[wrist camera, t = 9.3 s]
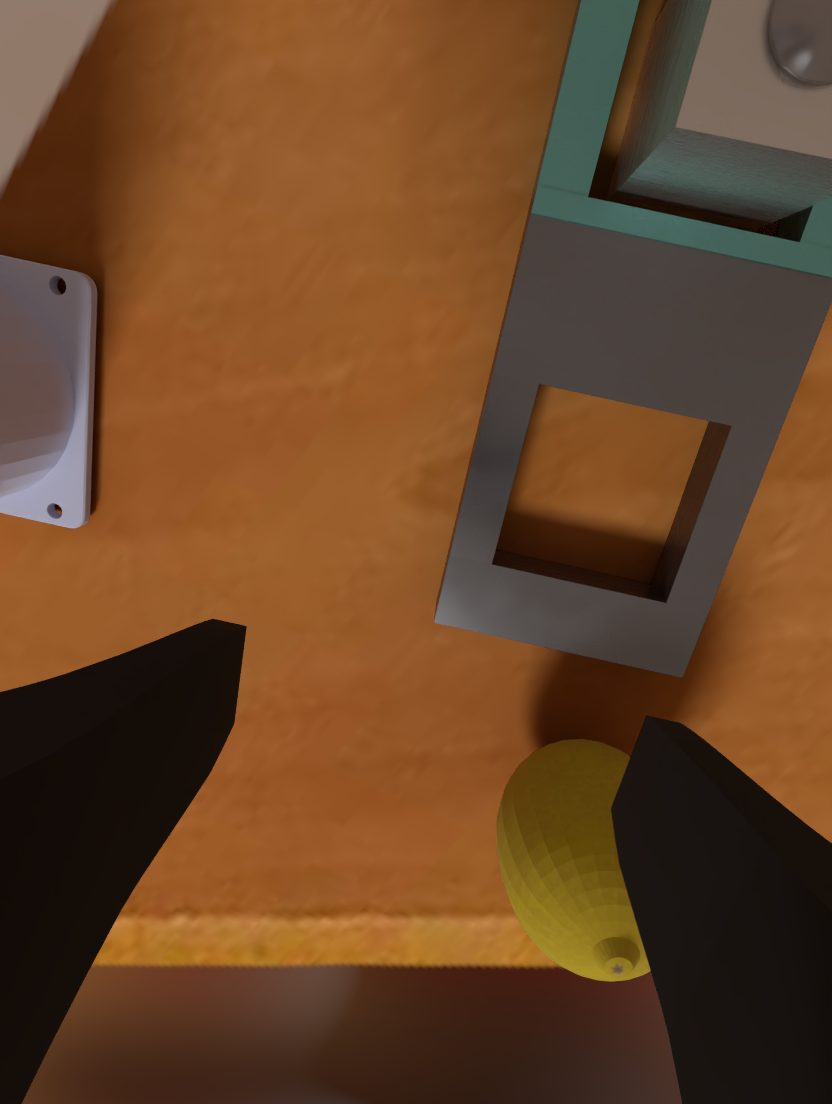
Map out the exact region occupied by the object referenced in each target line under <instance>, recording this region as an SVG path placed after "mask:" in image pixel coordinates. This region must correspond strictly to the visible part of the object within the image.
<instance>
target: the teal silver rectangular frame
mask: <svg viewBox="0 0 832 1104" xmlns="http://www.w3.org/2000/svg"><path fill="white" fill-rule="evenodd" d="M638 4H639V0H578V3H577V8H576V12H575V16H574V20H573V25H572V29H571V33H570V37H569V42H568V46H567V50H566V54H565V59H564V63H563V67H562V71H561V76H560V80H559V84H558V88H557V93H556V97H555V101H554V105H553V110H552V114H551V118H550V122H549V127H548V131H547V135H546V139H545V144H544V148H543V152H542V156H541V161H540V165H539V169H538V173H537V178H536V182H535V186H534V190H533V194H532V199H531V203H530V207H529V211H528V216H527V220H526V224H525V228H524V233H523V237H522V241H521V245H520V250H519V254H518V258H517V262H516V267H515V271H514V275H513V279H512V284H511V288H510V292H509V296H508V301H507V305H506V309H505V313H504V318H503V322H502V326H501V330H500V335H499V339H498V343H497V347H496V352H495V356H494V360H493V364H492V369H491V373H490V377H489V381H488V386H487V390H486V394H485V398H484V403H483V407H482V411H481V415H480V420H479V424H478V428H477V432H476V436H475V441H474V445H473V449H472V453H471V458H470V462H469V466H468V470H467V475H466V479H465V483H464V487H463V492H462V496H461V500H460V504H459V509H458V513H457V517H456V521H455V526H454V530H453V534H452V538H451V543H450V547H449V551H448V555H447V560H446V564H445V568H444V572H443V577H442V581H441V585H440V589H439V594H438V598H437V602H436V609H435V618H434V623H438V624H443V625H447V626H452V627H456V628H461V629H465V630H470V631H474V632H479V633H483V634H488V635H492V636H497V637H501V638H506V639H510V640H515V641H519V642H524V643H528V644H533V645H537V646H542V647H546V648H550V649H555V650H559V651H564V652H568V653H573V654H577V655H582V656H586V657H591V658H595V659H600V660H604V661H609V662H613V663H618V664H622V665H627V666H631V667H636V668H640V669H645V670H649V671H654V672H658V673H663V674H667V675H672V676H676V677H681V678H683V676H684V673H685V671H686V668H687V666H688V663H689V661H690V658H691V656H692V653H693V651H694V648H695V646H696V643H697V641H698V638H699V635H700V633H701V630H702V628H703V625H704V623H705V620H706V618H707V615H708V613H709V610H710V608H711V605H712V603H713V600H714V598H715V595H716V593H717V590H718V588H719V585H720V582H721V580H722V577H723V575H724V572H725V570H726V567H727V565H728V562H729V560H730V557H731V555H732V552H733V550H734V547H735V545H736V542H737V540H738V537H739V535H740V532H741V529H742V527H743V524H744V522H745V519H746V517H747V514H748V512H749V509H750V507H751V504H752V502H753V499H754V497H755V494H756V492H757V489H758V487H759V484H760V481H761V479H762V476H763V474H764V471H765V469H766V466H767V464H768V461H769V459H770V456H771V454H772V451H773V449H774V446H775V444H776V441H777V439H778V436H779V434H780V431H781V428H782V426H783V423H784V421H785V418H786V416H787V413H788V411H789V408H790V406H791V403H792V401H793V398H794V396H795V393H796V391H797V388H798V386H799V383H800V381H801V378H802V375H803V373H804V370H805V368H806V365H807V363H808V360H809V358H810V355H811V353H812V350H813V348H814V345H815V343H816V340H817V338H818V335H819V333H820V330H821V327H822V325H823V322H824V320H825V317H826V315H827V312H828V310H829V307H830V305H831V302H832V198H829V199H827V200H825V201H822V202H820V203H817V204H815V205H813V206H810V207H808V208H806V209H803V210H801V211H799V212H796V213H794V214H792V215H789V216H787V217H784V218H782V219H781V222H780V225H779V228H778V230H777V233H776V236H775V237H772V236H768V235H763V234H758V233H754V232H749V231H744V230H740V229H735V228H730V227H726V226H721V225H716V224H712V223H707V222H702V221H698V220H693V219H688V218H684V217H679V216H674V215H670V214H665V213H660V212H656V211H651V210H646V209H642V208H637V207H632V206H628V205H623V204H618V203H614V202H609V201H604V200H599V199H595V198H590V197H588V195H589V191H590V187H591V184H592V180H593V176H594V172H595V168H596V164H597V161H598V157H599V153H600V149H601V145H602V142H603V138H604V134H605V130H606V126H607V122H608V119H609V115H610V111H611V107H612V103H613V100H614V96H615V92H616V88H617V84H618V80H619V77H620V73H621V69H622V65H623V61H624V58H625V54H626V50H627V46H628V42H629V38H630V35H631V31H632V27H633V23H634V19H635V16H636V12H637V8H638ZM539 384H542V385H546V386H551V387H555V388H560V389H565V390H569V391H574V392H578V393H583V394H588V395H592V396H597V397H601V398H606V399H611V400H615V401H620V402H624V403H629V404H634V405H638V406H643V407H647V408H652V409H657V410H661V411H666V412H670V413H675V414H680V415H684V416H689V417H693V418H698V419H703V420H707V421H709V424H708V427H707V429H706V432H705V435H704V438H703V441H702V443H701V446H700V449H699V452H698V455H697V457H696V460H695V463H694V466H693V469H692V471H691V474H690V477H689V480H688V483H687V485H686V488H685V491H684V494H683V497H682V499H681V502H680V505H679V508H678V511H677V513H676V516H675V519H674V522H673V525H672V528H671V530H670V533H669V536H668V539H667V542H666V544H665V547H664V550H663V553H662V556H661V558H660V561H659V564H658V567H657V570H656V572H655V575H654V578H653V581H652V584H649V583H644V582H640V581H635V580H631V579H626V578H622V577H617V576H613V575H608V574H604V573H599V572H595V571H590V570H586V569H581V568H577V567H572V566H567V565H563V564H558V563H554V562H549V561H545V560H540V559H536V558H531V557H527V556H522V555H518V554H513V553H509V552H504V551H500V550H496V546H497V542H498V539H499V535H500V531H501V527H502V523H503V520H504V516H505V512H506V508H507V504H508V500H509V497H510V493H511V489H512V485H513V481H514V478H515V474H516V470H517V466H518V462H519V458H520V455H521V451H522V447H523V443H524V439H525V436H526V432H527V428H528V424H529V420H530V416H531V413H532V409H533V405H534V401H535V397H536V394H537V390H538V386H539Z"/></svg>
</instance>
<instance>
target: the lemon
mask: <svg viewBox="0 0 832 1104" xmlns="http://www.w3.org/2000/svg"><path fill="white" fill-rule="evenodd" d="M629 760H630V756H629V755H627V754H626V753H624V752H623V751H622V750H619V749H617V748H615V747H612V746H609V745H607V744H604V743H602V742H599V741H593V740H586V739H570V740H562V741H559V742H555V743H551V744H548V745H546V746H544V747H542V748H540V749H539V750H537V751H535V752H533V753H532V754H531V755H530V756H529V757H527V758H526V759H525V760H524V761H523V762H522V763H521V764H520V765H519V766H518V767H517V769H516V770H515V772H514V773H513V775H512V776H511V778H510V780H509V781H508V783H507V785H506V787H505V790H504V793H503V797H502V800H501V803H500V807H499V811H498V816H497V855H498V863H499V867H500V872H501V875H502V879H503V882H504V885H505V888H506V890H507V893H508V896H509V899H510V902H511V904H512V907H513V910H514V912H515V914H516V916H517V918H518V920H519V922H520V923H521V925H522V927H523V928H524V930H525V931H526V932H527V934H528V935H529V937H530V938H531V939H532V941H533V942H534V943H535V944H536V945H537V947H538V948H539V949H540V950H541V951H542V952H543V953H545V954H546V955H547V956H548V957H550V958H551V959H552V960H553V961H554V962H556V963H557V964H559V965H560V966H562V967H564V968H566V969H568V970H570V971H572V972H574V973H576V974H578V975H581V976H584V977H588V978H591V979H595V980H603V981H620V980H628V979H632V978H635V977H639V976H642V975H644V974H646V973H648V972H649V971H651V970H650V967H649V963H648V960H647V957H646V953H645V950H644V947H643V943H642V940H641V937H640V934H639V930H638V927H637V924H636V920H635V917H634V914H633V910H632V907H631V903H630V900H629V897H628V893H627V890H626V886H625V883H624V879H623V876H622V872H621V869H620V865H619V860H618V854H617V848H616V842H615V836H614V828H613V821H612V814H611V807H612V804H613V801H614V799H615V796H616V794H617V791H618V788H619V786H620V783H621V780H622V778H623V775H624V773H625V770H626V767H627V765H628V762H629Z"/></svg>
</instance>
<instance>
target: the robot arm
mask: <svg viewBox="0 0 832 1104" xmlns="http://www.w3.org/2000/svg"><path fill="white" fill-rule="evenodd" d="M61 278H62V279H63V280H64V281H65V283H66V291H65V293H64V294H61V293H60V292H59V290H58V286H57V284H58V280H60V279H61ZM96 321H97V288H96V285H95V283H94V281H93V280H92V279H91V278H90V277H89V276H88V275H86V274H84V273H82V272H78V271H73V270H68V269H64V268H59V267H55V266H50V265H45V264H41V263H36V262H32V261H27V260H22V259H18V258H13V257H9V256H4V255H0V513H4V514H9V515H13V516H18V517H22V518H27V519H31V520H36V521H40V522H45V523H49V524H54V525H58V526H63V527H67V528H77V527H80V526H82V525H84V524H86V523H87V522H88V520H89V518H90V505H91V474H92V443H93V413H94V382H95V351H96ZM55 504H57V505H59V506H60V507H61V509H62V515H60V514H58V513H57V512H56V510H55V507H54V506H55ZM246 627H247V626H243V625H239V624H234V623H230V622H225V621H221V620H216V619H211V620H208V621H204V622H201V623H199V624H196V625H193V626H191V627H188V628H186V629H183V630H181V631H178V632H176V633H173V634H171V635H169V636H166V637H164V638H161V639H159V640H156V641H154V642H151V643H149V644H146V645H144V646H141V647H139V648H136V649H134V650H131V651H129V652H126V653H123V654H121V655H118V656H115V657H112V658H110V659H107V660H104V661H101V662H98V663H95V664H92V665H90V666H87V667H84V668H81V669H78V670H75V671H72V672H70V673H67V674H64V675H60V676H57V677H54V678H51V679H47V680H44V681H41V682H37V683H34V684H30V685H26V686H23V687H19V688H15V689H11V690H7V691H3V692H0V1104H22V1102H23V1100H24V1098H25V1096H26V1093H27V1091H28V1089H29V1087H30V1085H31V1083H32V1081H33V1079H34V1077H35V1075H36V1073H37V1071H38V1069H39V1067H40V1065H41V1063H42V1061H43V1059H44V1057H45V1055H46V1053H47V1051H48V1049H49V1047H50V1045H51V1043H52V1041H53V1039H54V1037H55V1035H56V1033H57V1031H58V1029H59V1027H60V1025H61V1023H62V1021H63V1020H64V1017H65V1015H66V1014H67V1012H68V1010H69V1008H70V1006H71V1004H72V1002H73V1000H74V998H75V996H76V994H77V992H78V990H79V988H80V986H81V985H82V982H83V981H84V979H85V977H86V975H87V973H88V971H89V969H90V967H91V965H92V964H93V962H94V960H95V958H96V956H97V954H98V952H99V950H100V949H101V947H102V945H103V943H104V941H105V939H106V937H107V935H108V934H109V932H110V930H111V928H112V926H113V924H114V922H115V921H116V919H117V917H118V915H119V913H120V911H121V909H122V908H123V906H124V904H125V903H126V901H127V900H128V898H129V896H130V895H131V893H132V891H133V890H134V888H135V886H136V885H137V883H138V882H139V880H140V878H141V877H142V875H143V874H144V872H145V871H146V869H147V868H148V866H149V865H150V863H151V862H152V860H153V859H154V857H155V856H156V854H157V853H158V851H159V850H160V848H161V847H162V845H163V844H164V842H165V841H166V839H167V838H168V836H169V835H170V833H171V832H172V830H173V829H174V827H175V826H176V824H177V823H178V821H179V820H180V818H181V817H182V815H183V814H184V812H185V811H186V809H187V808H188V806H189V805H190V803H191V802H192V800H193V799H194V797H195V795H196V794H197V792H198V791H199V789H200V788H201V786H202V785H203V783H204V782H205V780H206V779H207V777H208V775H209V774H210V772H211V770H212V768H213V766H214V764H215V762H216V760H217V758H218V756H219V754H220V752H221V750H222V748H223V746H224V744H225V742H226V740H227V738H228V736H229V734H230V731H231V729H232V727H233V725H234V721H235V713H236V705H237V698H238V690H239V682H240V674H241V666H242V658H243V650H244V642H245V635H246ZM611 814H612V821H613V828H614V836H615V842H616V848H617V854H618V860H619V865H620V869H621V872H622V876H623V879H624V883H625V886H626V890H627V893H628V897H629V900H630V903H631V907H632V910H633V914H634V917H635V920H636V924H637V927H638V930H639V934H640V937H641V940H642V943H643V947H644V950H645V953H646V957H647V960H648V963H649V967H650V970H651V973H652V977H653V980H654V983H655V987H656V990H657V993H658V996H659V1000H660V1003H661V1007H662V1011H663V1015H664V1018H665V1023H666V1026H667V1030H668V1034H669V1039H670V1044H671V1049H672V1054H673V1059H674V1064H675V1069H676V1074H677V1078H678V1083H679V1088H680V1093H681V1099H682V1104H832V843H830V842H829V841H828V840H826V839H825V838H824V837H822V836H821V835H820V834H818V833H817V832H816V831H815V830H813V829H812V828H811V827H809V826H808V825H807V824H806V823H804V822H803V821H802V820H801V819H799V818H798V817H797V816H796V815H794V814H793V813H792V812H791V811H789V810H788V809H787V808H786V807H784V806H783V805H782V804H781V803H780V802H778V801H777V800H776V799H775V798H773V797H772V796H771V795H770V794H769V793H767V792H766V791H765V790H764V789H763V788H761V787H760V786H759V785H758V784H757V783H755V782H754V781H753V780H752V779H751V778H749V777H748V776H747V775H746V774H745V773H744V772H742V771H741V770H740V769H739V768H738V767H736V766H735V765H734V764H733V763H732V762H730V761H729V760H728V759H727V758H726V757H724V756H723V755H722V754H721V753H720V752H718V751H717V750H716V749H715V748H714V747H712V746H711V745H710V744H709V743H707V742H706V741H705V740H704V739H702V738H701V737H700V736H698V735H697V734H696V733H694V732H693V731H692V730H690V729H689V728H687V727H686V726H684V725H683V724H681V723H678V722H673V721H669V720H664V719H660V718H655V717H651V716H646V718H645V720H644V723H643V726H642V728H641V731H640V733H639V736H638V739H637V741H636V744H635V746H634V749H633V752H632V754H631V757H630V760H629V762H628V765H627V767H626V770H625V773H624V775H623V778H622V780H621V783H620V786H619V788H618V791H617V794H616V796H615V799H614V801H613V804H612V807H611Z"/></svg>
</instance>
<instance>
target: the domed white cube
mask: <svg viewBox="0 0 832 1104" xmlns="http://www.w3.org/2000/svg"><path fill="white" fill-rule="evenodd" d="M829 198H832V0H668V1H667V2H666V4H665V6H664V8H663V9H662V11H661V13H660V15H659V16H658V18H657V20H656V22H655V23H654V25H653V27H652V30H651V34H650V38H649V41H648V45H647V49H646V53H645V56H644V60H643V64H642V68H641V72H640V75H639V79H638V83H637V87H636V90H635V94H634V98H633V102H632V105H631V109H630V113H629V117H628V120H627V124H626V128H625V132H624V136H623V139H622V143H621V147H620V151H619V154H618V158H617V162H616V166H615V169H614V173H613V177H612V181H611V184H610V188H609V192H608V196H607V200H606V201H609V202H614V203H618V204H623V205H628V206H632V207H637V208H642V209H646V210H651V211H656V212H660V213H665V214H670V215H674V216H679V217H684V218H688V219H693V220H698V221H702V222H707V223H712V224H716V225H721V226H726V227H730V228H735V229H740V230H744V231H749V232H751V231H754V230H756V229H759V228H761V227H763V226H766V225H768V224H770V223H773V222H775V221H777V220H780V219H782V218H784V217H787V216H789V215H792V214H794V213H796V212H799V211H801V210H803V209H806V208H808V207H810V206H813V205H815V204H817V203H820V202H822V201H825V200H827V199H829Z"/></svg>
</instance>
